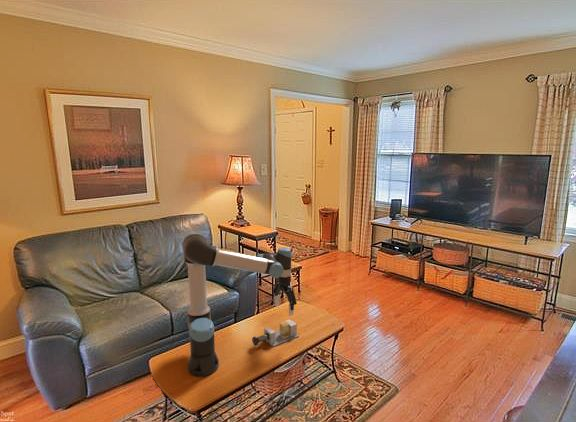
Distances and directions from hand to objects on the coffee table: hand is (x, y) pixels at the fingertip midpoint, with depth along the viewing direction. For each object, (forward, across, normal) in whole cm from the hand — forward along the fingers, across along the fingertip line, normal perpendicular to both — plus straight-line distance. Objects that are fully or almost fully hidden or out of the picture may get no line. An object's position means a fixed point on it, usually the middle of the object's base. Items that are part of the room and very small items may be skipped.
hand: (283, 310), depth 195 cm
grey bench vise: (+16, 0, +2) cm, 16 cm away
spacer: (+15, 0, -1) cm, 15 cm away
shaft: (+15, 0, +14) cm, 20 cm away
